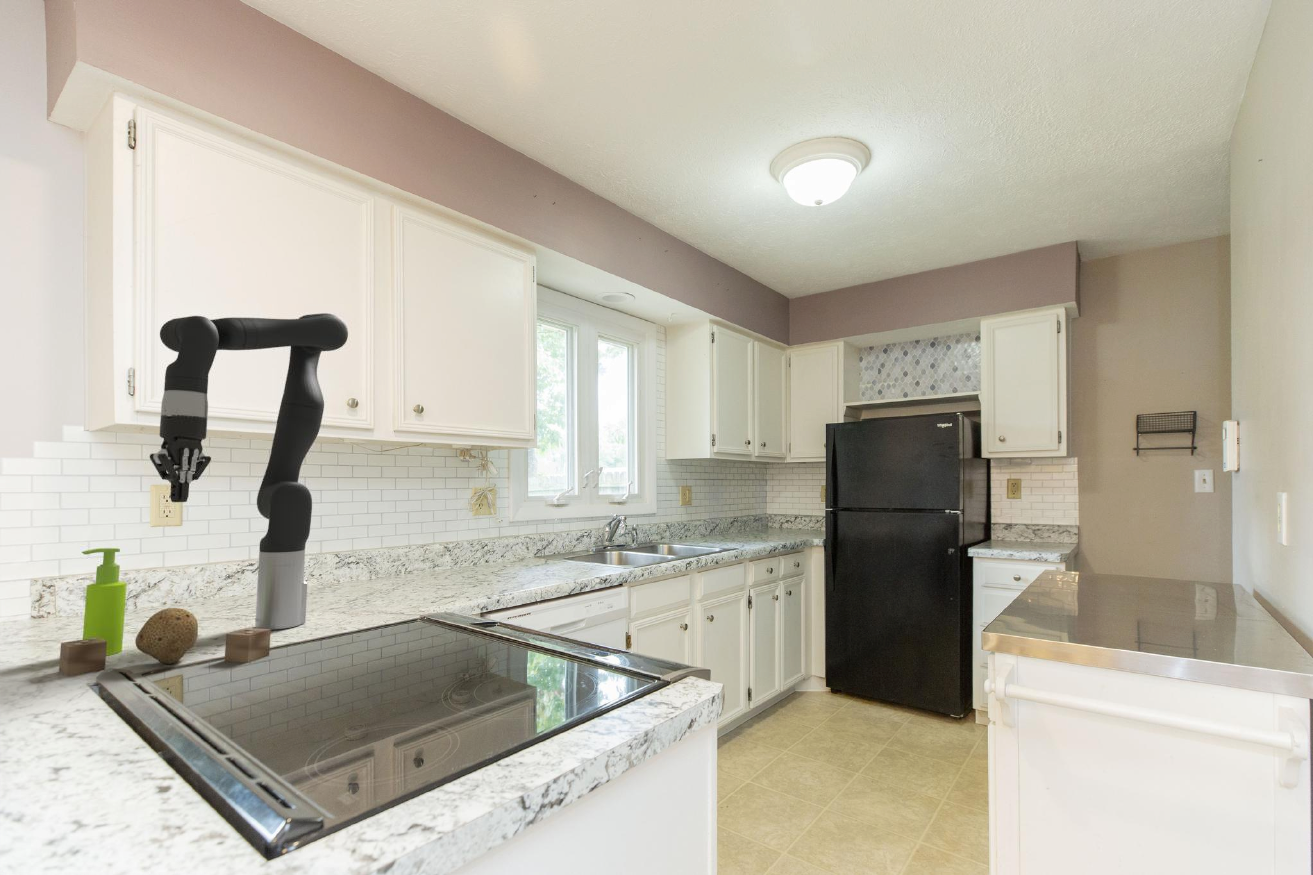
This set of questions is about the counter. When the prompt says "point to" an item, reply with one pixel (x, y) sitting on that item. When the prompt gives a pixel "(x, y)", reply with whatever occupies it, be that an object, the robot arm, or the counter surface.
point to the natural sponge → (168, 635)
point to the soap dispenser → (106, 603)
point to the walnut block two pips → (247, 645)
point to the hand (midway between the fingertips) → (178, 502)
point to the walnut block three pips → (82, 656)
